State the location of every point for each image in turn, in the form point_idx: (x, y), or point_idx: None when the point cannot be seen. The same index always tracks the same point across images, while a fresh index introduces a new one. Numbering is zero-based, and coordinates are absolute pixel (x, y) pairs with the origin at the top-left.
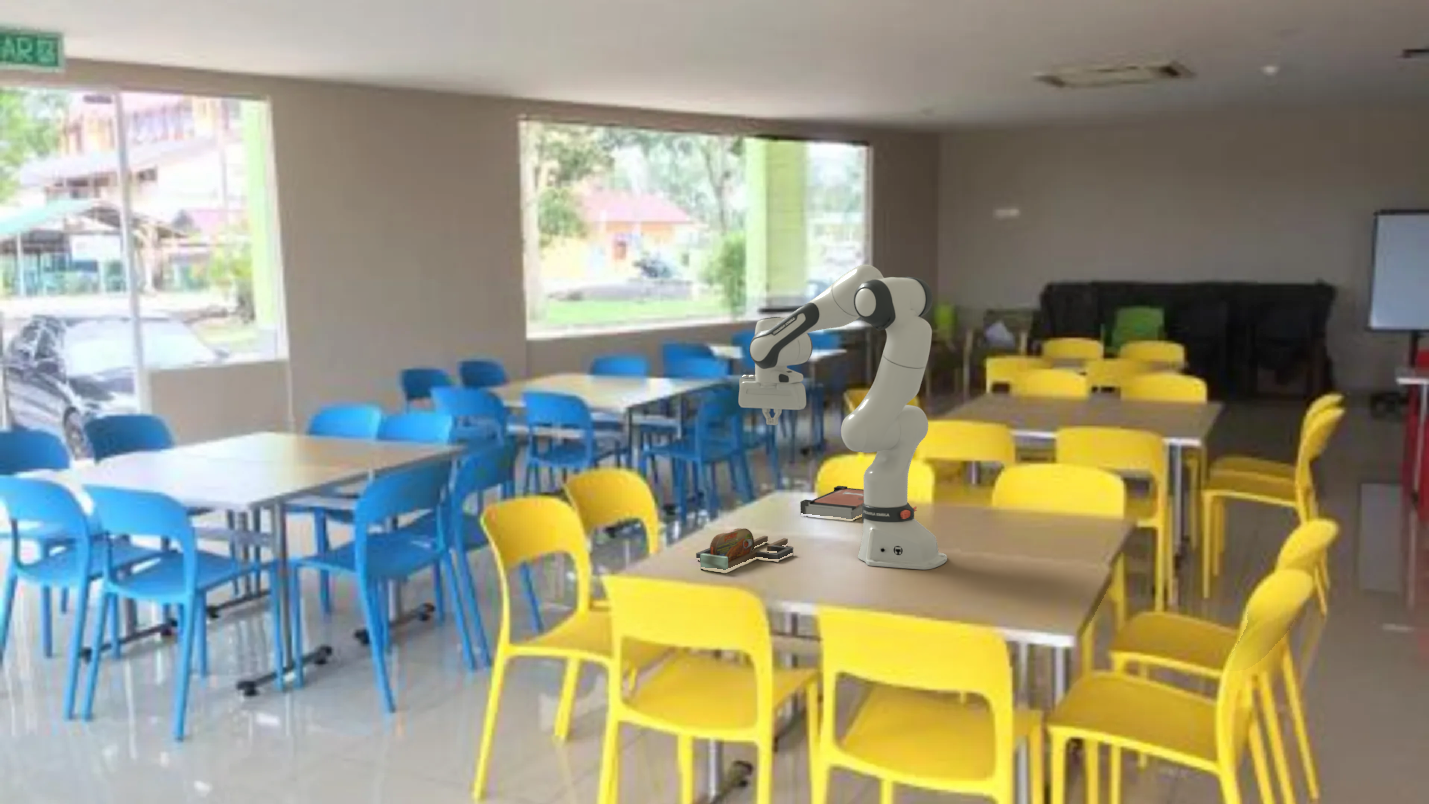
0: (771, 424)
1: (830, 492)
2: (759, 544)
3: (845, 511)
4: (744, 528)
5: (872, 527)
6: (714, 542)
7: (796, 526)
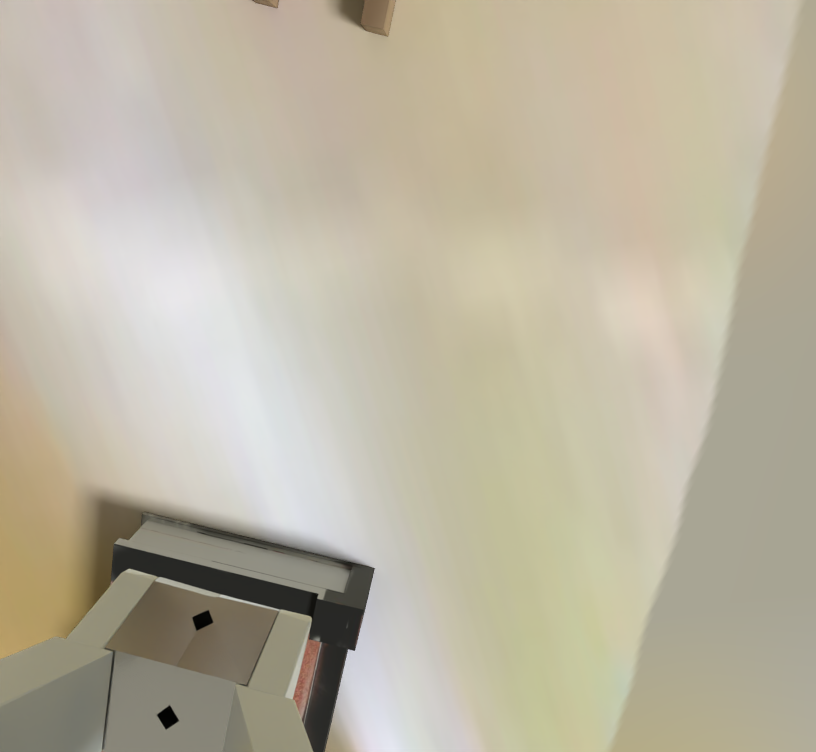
0: (210, 591)
1: None
2: None
3: (155, 546)
4: None
5: None
6: None
7: (338, 397)
